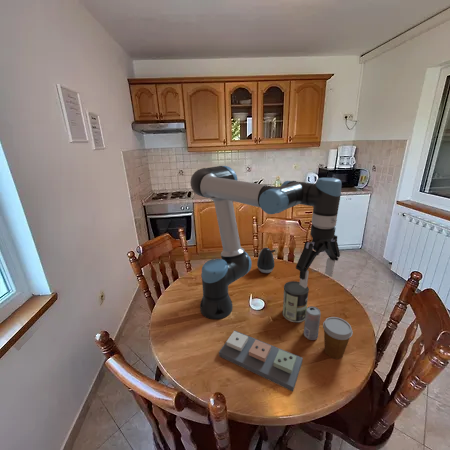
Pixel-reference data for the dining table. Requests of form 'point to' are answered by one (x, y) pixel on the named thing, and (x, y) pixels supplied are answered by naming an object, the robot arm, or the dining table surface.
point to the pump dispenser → (266, 260)
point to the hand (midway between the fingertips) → (316, 280)
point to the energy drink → (312, 323)
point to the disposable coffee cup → (336, 336)
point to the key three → (285, 361)
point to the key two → (260, 350)
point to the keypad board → (262, 364)
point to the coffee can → (295, 301)
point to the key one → (237, 341)
